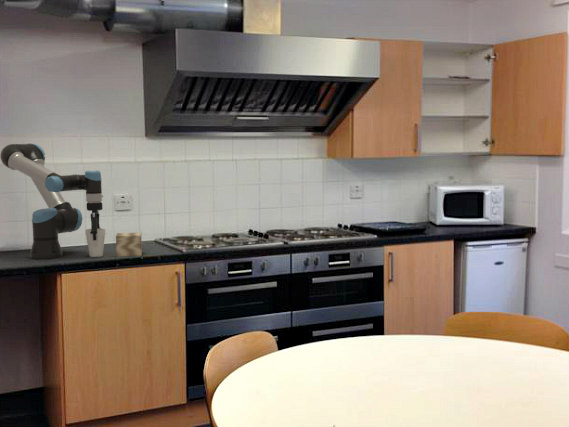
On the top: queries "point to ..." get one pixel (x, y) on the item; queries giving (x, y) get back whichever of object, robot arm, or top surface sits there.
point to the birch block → (128, 244)
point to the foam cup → (98, 250)
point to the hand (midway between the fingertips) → (96, 245)
